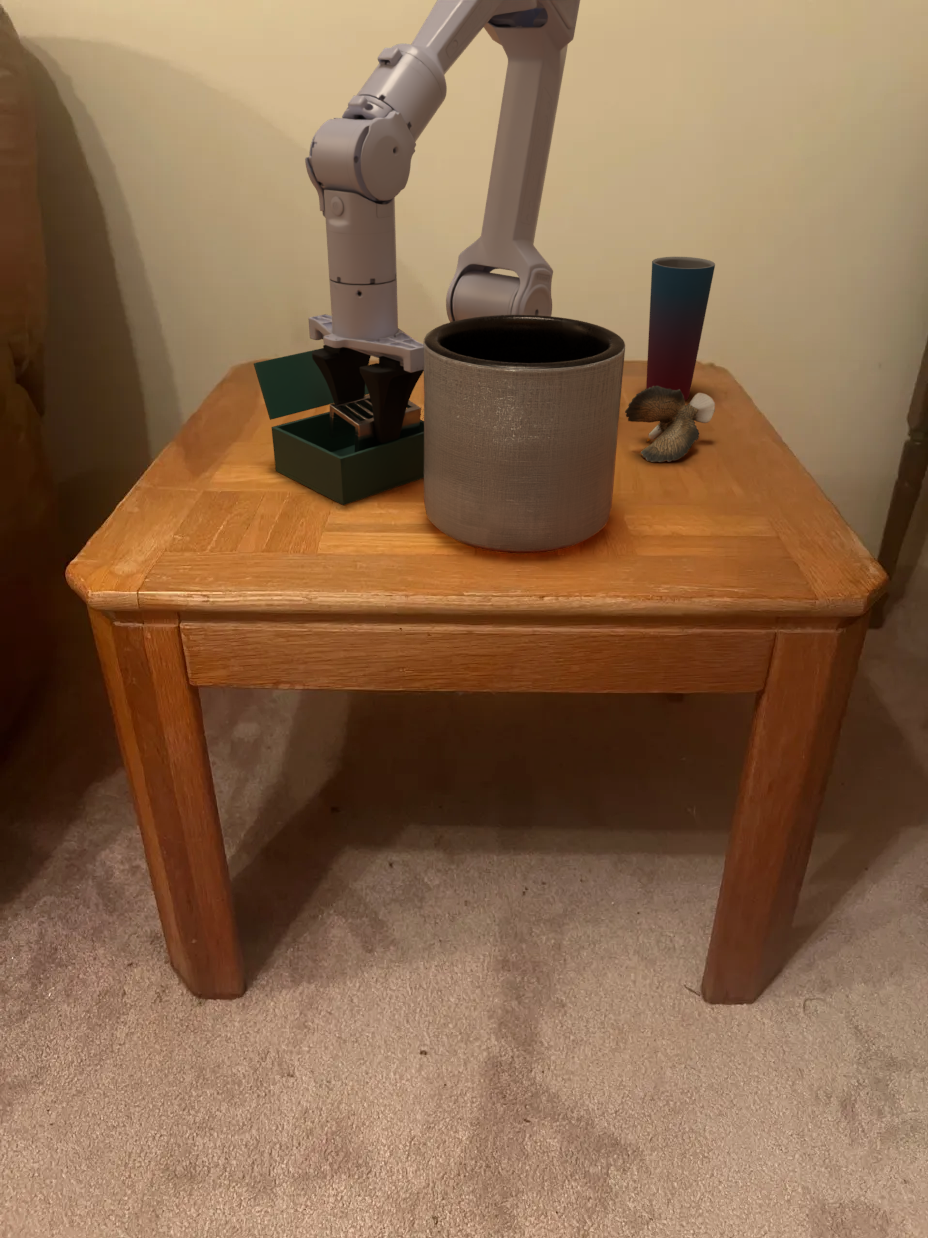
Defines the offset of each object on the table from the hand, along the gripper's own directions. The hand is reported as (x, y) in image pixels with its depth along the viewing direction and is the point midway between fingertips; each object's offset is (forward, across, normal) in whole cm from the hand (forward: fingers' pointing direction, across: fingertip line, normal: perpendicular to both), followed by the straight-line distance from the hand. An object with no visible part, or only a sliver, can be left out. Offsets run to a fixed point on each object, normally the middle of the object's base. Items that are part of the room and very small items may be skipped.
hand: (369, 431), depth 87 cm
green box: (+4, -2, 0) cm, 5 cm away
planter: (+5, +16, +4) cm, 17 cm away
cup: (+5, +4, +41) cm, 42 cm away
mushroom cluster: (+5, +14, +28) cm, 31 cm away
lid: (-3, -8, 0) cm, 9 cm away
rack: (+1, 0, +1) cm, 1 cm away
